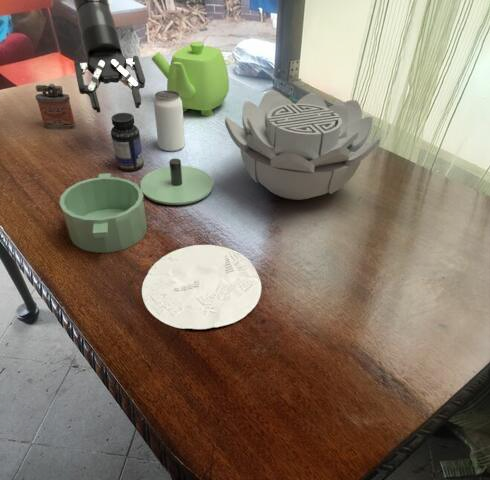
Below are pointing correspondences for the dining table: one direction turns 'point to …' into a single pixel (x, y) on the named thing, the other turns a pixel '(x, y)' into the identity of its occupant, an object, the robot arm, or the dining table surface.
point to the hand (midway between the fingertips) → (118, 108)
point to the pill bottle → (126, 142)
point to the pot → (104, 213)
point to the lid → (176, 184)
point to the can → (169, 120)
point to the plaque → (201, 287)
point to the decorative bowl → (302, 143)
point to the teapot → (196, 76)
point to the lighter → (55, 107)
